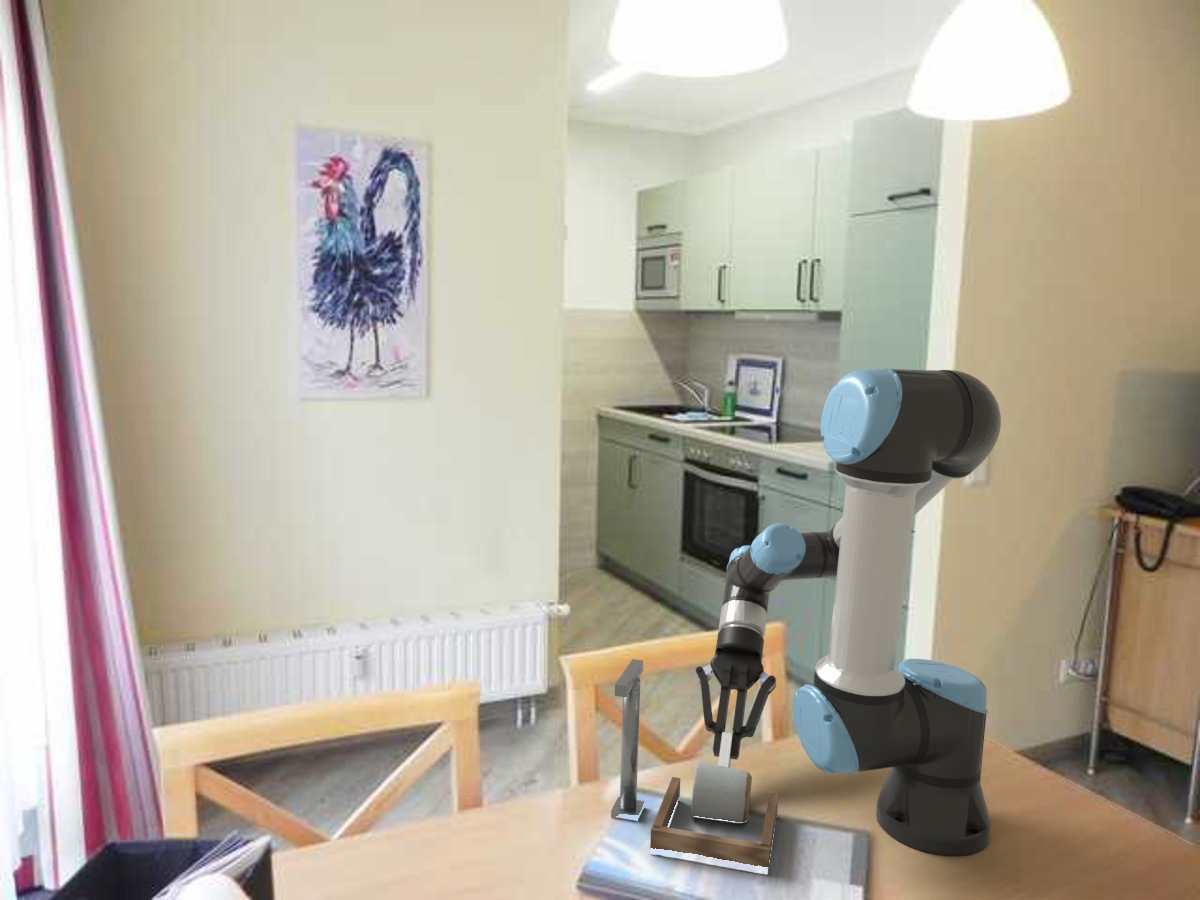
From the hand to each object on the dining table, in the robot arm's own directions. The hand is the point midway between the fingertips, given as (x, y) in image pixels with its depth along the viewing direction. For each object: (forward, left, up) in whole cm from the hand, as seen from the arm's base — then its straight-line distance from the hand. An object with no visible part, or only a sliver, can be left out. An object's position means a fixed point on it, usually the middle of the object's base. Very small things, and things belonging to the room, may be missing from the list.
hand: (722, 778), depth 130 cm
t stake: (+12, +9, -3) cm, 16 cm away
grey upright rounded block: (0, +4, -4) cm, 5 cm away
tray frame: (-1, +9, -3) cm, 10 cm away
